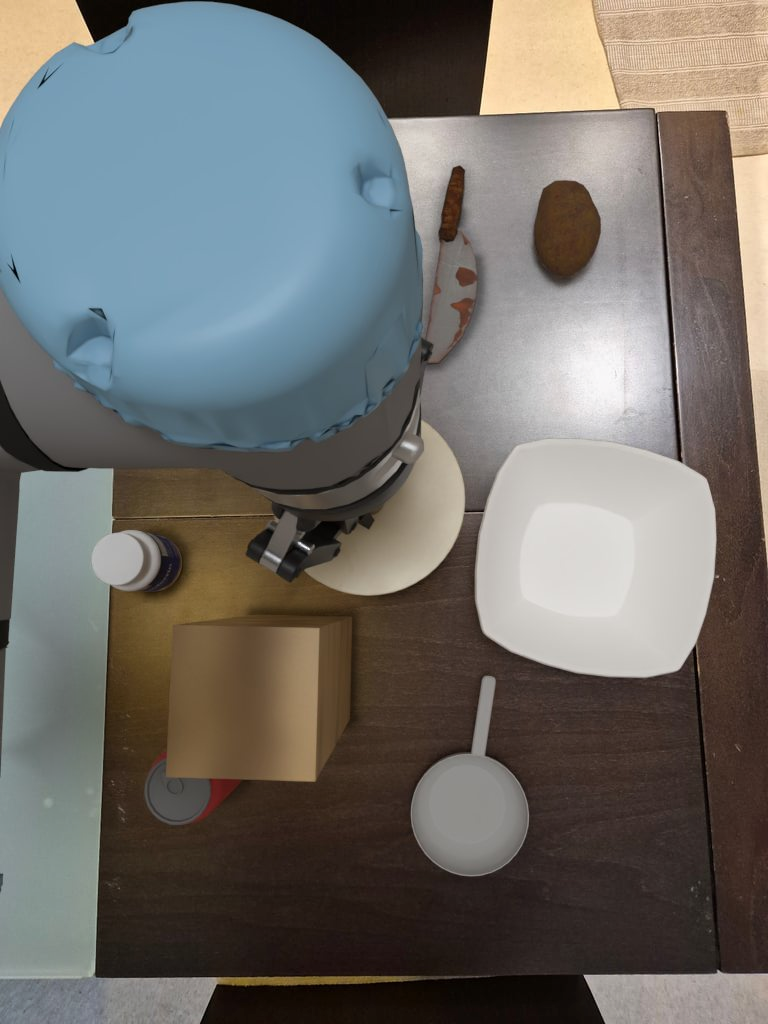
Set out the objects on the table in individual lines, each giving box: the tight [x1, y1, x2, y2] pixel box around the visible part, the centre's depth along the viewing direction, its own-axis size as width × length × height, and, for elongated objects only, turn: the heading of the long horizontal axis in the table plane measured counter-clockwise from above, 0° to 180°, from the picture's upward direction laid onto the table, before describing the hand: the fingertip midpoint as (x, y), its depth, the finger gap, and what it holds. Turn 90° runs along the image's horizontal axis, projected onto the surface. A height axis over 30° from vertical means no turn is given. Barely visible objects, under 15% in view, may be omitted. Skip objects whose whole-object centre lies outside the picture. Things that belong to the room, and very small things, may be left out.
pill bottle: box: [90, 529, 183, 593], centre depth 70 cm, size 6×6×10 cm
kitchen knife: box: [425, 165, 478, 364], centre depth 76 cm, size 21×2×5 cm
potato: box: [533, 179, 602, 279], centre depth 73 cm, size 7×10×6 cm
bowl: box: [474, 437, 718, 679], centre depth 68 cm, size 21×21×9 cm
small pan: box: [410, 674, 530, 877], centre depth 69 cm, size 11×18×4 cm, turn 171°
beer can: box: [143, 749, 242, 826], centre depth 66 cm, size 7×7×12 cm
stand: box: [166, 614, 353, 783], centre depth 61 cm, size 10×10×24 cm
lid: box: [273, 419, 466, 597], centre depth 47 cm, size 14×14×11 cm
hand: (366, 495), depth 50 cm, fingers closed on lid, 2 cm apart
